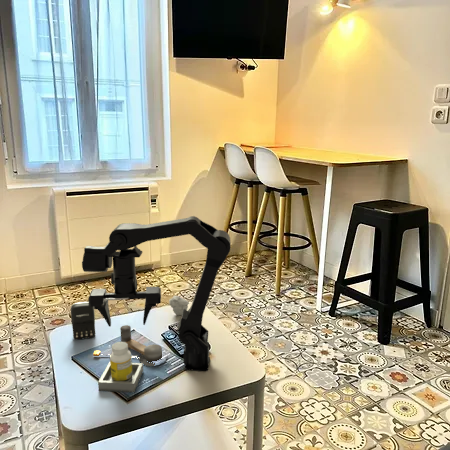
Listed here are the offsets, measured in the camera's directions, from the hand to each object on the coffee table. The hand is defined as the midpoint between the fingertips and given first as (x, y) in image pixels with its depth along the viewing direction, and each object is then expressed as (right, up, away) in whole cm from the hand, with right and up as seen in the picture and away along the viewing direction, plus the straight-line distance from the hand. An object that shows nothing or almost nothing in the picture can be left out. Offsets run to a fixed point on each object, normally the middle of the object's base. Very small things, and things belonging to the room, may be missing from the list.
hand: (127, 325), depth 118 cm
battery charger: (-17, -8, +17) cm, 25 cm away
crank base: (0, -11, +6) cm, 12 cm away
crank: (+2, -9, +9) cm, 13 cm away
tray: (0, -14, -5) cm, 14 cm away
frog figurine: (+11, -4, +33) cm, 35 cm away
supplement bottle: (0, -13, -5) cm, 14 cm away
